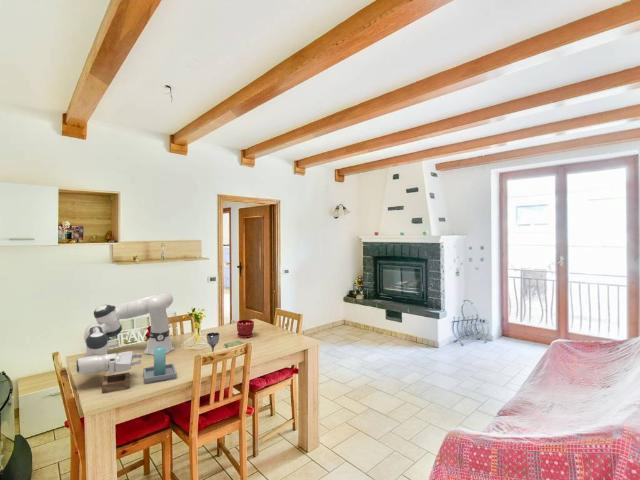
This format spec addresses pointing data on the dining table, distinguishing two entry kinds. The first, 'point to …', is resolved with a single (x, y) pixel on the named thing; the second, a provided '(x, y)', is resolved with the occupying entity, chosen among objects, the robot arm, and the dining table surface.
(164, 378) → the tray
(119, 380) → the cup holder
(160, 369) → the pillar candle
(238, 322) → the plant pot
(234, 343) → the washcloth
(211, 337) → the wine glass
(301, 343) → the dining table surface
